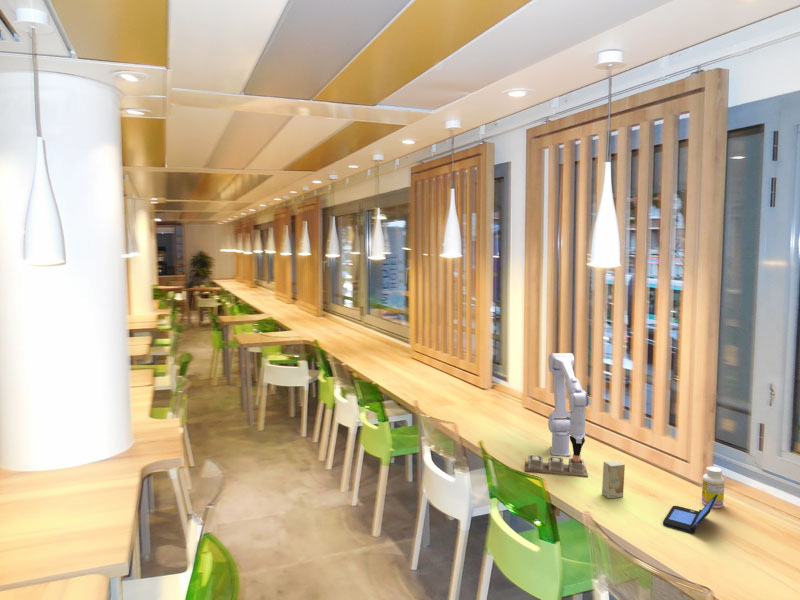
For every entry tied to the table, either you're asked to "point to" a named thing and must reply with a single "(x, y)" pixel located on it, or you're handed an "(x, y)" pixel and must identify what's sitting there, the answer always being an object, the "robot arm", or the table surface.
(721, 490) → the supplement bottle
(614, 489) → the skincare box
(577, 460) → the terracotta plug
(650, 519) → the table surface
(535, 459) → the plug
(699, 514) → the handheld game console
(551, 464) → the board
